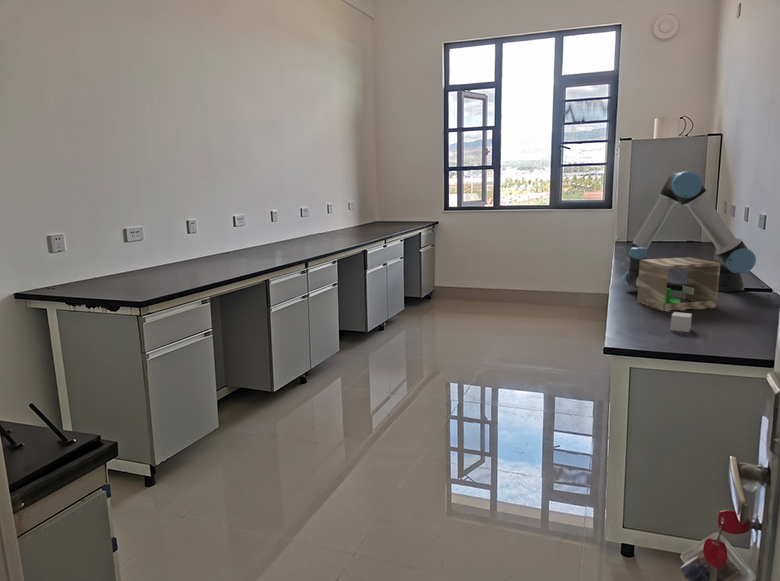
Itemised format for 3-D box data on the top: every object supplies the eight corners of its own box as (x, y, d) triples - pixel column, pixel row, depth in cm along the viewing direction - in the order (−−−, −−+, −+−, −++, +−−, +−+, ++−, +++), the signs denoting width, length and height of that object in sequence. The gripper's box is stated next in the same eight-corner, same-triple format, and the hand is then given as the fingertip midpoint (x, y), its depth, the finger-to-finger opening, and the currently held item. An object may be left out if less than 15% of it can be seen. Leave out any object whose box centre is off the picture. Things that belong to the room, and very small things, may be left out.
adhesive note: (689, 333, 203) (690, 317, 202) (670, 331, 206) (671, 315, 205) (690, 329, 208) (691, 313, 207) (672, 327, 211) (673, 311, 210)
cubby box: (687, 299, 256) (690, 257, 252) (716, 307, 239) (720, 262, 235) (637, 302, 252) (639, 259, 248) (662, 311, 235) (666, 265, 231)
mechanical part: (680, 309, 239) (681, 290, 237) (664, 307, 241) (665, 289, 240) (679, 303, 249) (681, 285, 247) (664, 302, 252) (666, 284, 250)
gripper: (672, 290, 266) (704, 299, 245) (623, 292, 262) (651, 302, 241) (673, 274, 264) (705, 282, 244) (624, 276, 260) (652, 285, 240)
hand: (678, 292), depth 242 cm, fingers open, 13 cm apart
